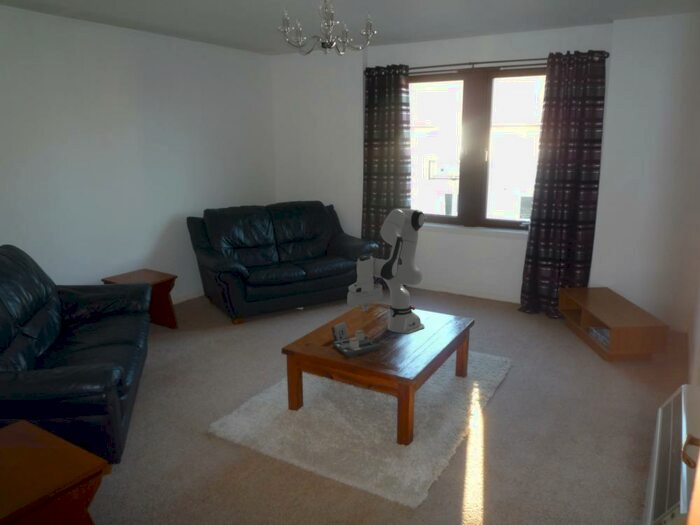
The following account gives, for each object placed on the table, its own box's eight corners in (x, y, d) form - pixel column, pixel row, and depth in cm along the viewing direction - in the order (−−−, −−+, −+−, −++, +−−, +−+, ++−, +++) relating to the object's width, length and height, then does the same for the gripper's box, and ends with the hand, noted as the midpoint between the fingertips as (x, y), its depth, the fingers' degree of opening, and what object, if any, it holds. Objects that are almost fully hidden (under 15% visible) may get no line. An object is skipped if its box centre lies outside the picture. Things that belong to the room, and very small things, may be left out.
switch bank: (365, 339, 291) (365, 334, 291) (380, 349, 278) (380, 344, 277) (333, 346, 282) (333, 341, 281) (348, 356, 268) (348, 351, 268)
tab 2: (361, 338, 287) (361, 329, 286) (364, 340, 284) (364, 331, 283) (355, 340, 285) (355, 330, 284) (357, 342, 282) (357, 332, 281)
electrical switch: (338, 342, 286) (337, 326, 285) (331, 341, 290) (330, 325, 288) (348, 338, 293) (347, 322, 292) (341, 336, 297) (340, 321, 295)
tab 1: (356, 346, 276) (356, 337, 275) (359, 348, 274) (359, 338, 272) (349, 348, 274) (349, 338, 273) (352, 350, 272) (352, 340, 270)
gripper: (378, 281, 277) (378, 305, 280) (345, 287, 267) (345, 312, 271) (385, 284, 271) (385, 309, 275) (351, 290, 262) (351, 316, 265)
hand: (365, 310), depth 273 cm, fingers closed
